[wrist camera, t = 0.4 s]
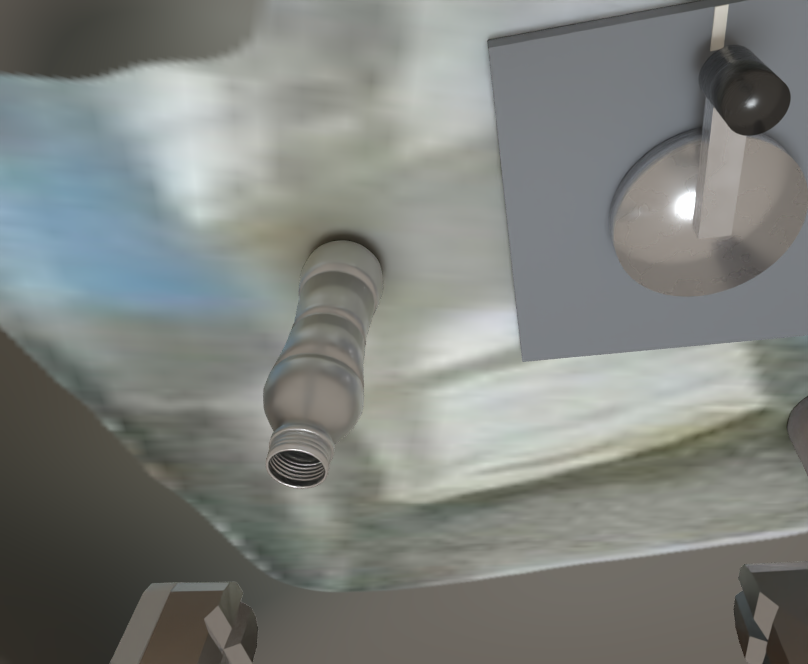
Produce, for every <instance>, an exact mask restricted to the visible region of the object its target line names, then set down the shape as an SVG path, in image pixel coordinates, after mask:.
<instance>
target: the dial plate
mask: <svg viewBox="0 0 808 664" xmlns="http://www.w3.org/2000/svg"><path fill="white" fill-rule="evenodd" d="M730 45H741V46H744V47H746V48H748V49H749V50H750V51H751V52H753V53H754V54H755V55H756V56H757V57H758V58H759V59H760V60H761V61H762V62H763V63H764V64H765V65H766V66H767V67H769V68H770V69H771V70H772V71H773V72H774V73H775V74H776V75H777V76H778V77H779V78H780V79H781V80H782V81H783V82H784V83H785V84H786V85H787V86H788V88H789V90H790V94H791V101H790V105H789V108H788V110H787V112H786V114H785V116H784V117H783V118H782V119H781V121H780V122H779V123H778V124H777V125H775V126H774V127H773V128H771V129H770V130H768V131H766V132H764V134H766V135H768V136H770V137H771V138H773V139H774V140H775V141H777V142H778V143H779V144H780V145H781V146H782V147H783V148H784V149H785V150H786V151H787V153H788V154H789V155H790V156H791V157H792V158H793V160H794V161H795V162H796V163H797V164H798V166H799V167H800V169H801V170H802V172H803V174H804V177H805V179H806V182H807V187H808V0H702V1H697V2H691V3H686V4H681V5H675V6H670V7H664V8H659V9H654V10H648V11H643V12H638V13H632V14H627V15H621V16H616V17H611V18H605V19H600V20H595V21H589V22H584V23H578V24H573V25H568V26H562V27H557V28H552V29H546V30H541V31H535V32H530V33H525V34H519V35H514V36H509V37H503V38H498V39H493V40H488V49H489V58H490V67H491V77H492V86H493V95H494V104H495V113H496V123H497V132H498V141H499V150H500V159H501V168H502V178H503V187H504V196H505V205H506V214H507V224H508V233H509V242H510V251H511V260H512V270H513V279H514V288H515V297H516V306H517V316H518V325H519V334H520V343H521V352H522V362H526V361H537V360H547V359H558V358H569V357H580V356H590V355H601V354H612V353H622V352H633V351H644V350H655V349H665V348H676V347H687V346H698V345H708V344H719V343H730V342H741V341H751V340H762V339H773V338H784V337H794V336H805V335H808V209H807V214H806V217H805V220H804V223H803V226H802V228H801V230H800V232H799V234H798V235H797V237H796V239H795V240H794V242H793V243H792V245H791V246H790V247H789V248H788V249H787V251H786V252H785V253H784V254H783V255H782V256H781V257H780V258H779V259H778V260H777V261H776V262H775V263H774V264H772V265H771V266H770V267H769V268H768V269H766V270H765V271H763V272H762V273H760V274H759V275H757V276H756V277H754V278H752V279H751V280H749V281H747V282H745V283H743V284H741V285H738V286H736V287H734V288H731V289H728V290H725V291H722V292H718V293H714V294H710V295H703V296H693V297H681V296H671V295H665V294H661V293H658V292H655V291H652V290H650V289H647V288H645V287H644V286H642V285H640V284H639V283H637V282H636V281H635V280H634V279H632V278H631V277H630V276H629V275H628V274H627V273H626V271H625V270H624V268H623V267H622V265H621V264H620V262H619V259H618V257H617V255H616V251H615V248H614V245H613V242H612V239H611V235H610V230H609V215H610V209H611V204H612V201H613V198H614V196H615V193H616V191H617V189H618V187H619V185H620V184H621V182H622V180H623V179H624V177H625V176H626V175H627V173H628V172H629V171H630V170H631V169H632V167H633V166H634V165H635V164H636V163H637V162H638V161H639V160H640V159H641V158H643V157H644V156H645V155H646V154H647V153H648V152H650V151H651V150H653V149H654V148H655V147H657V146H658V145H660V144H662V143H664V142H665V141H667V140H669V139H671V138H673V137H675V136H677V135H680V134H682V133H685V132H688V131H691V130H694V129H698V128H703V118H704V109H705V99H706V96H705V95H704V94H703V92H702V91H701V89H700V87H699V73H700V70H701V68H702V66H703V64H704V62H705V61H706V60H707V59H708V58H709V57H710V56H711V55H712V54H713V53H714V52H716V51H717V50H719V49H721V48H723V47H726V46H730Z"/></svg>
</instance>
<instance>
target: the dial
mask: <svg viewBox="0 0 808 664" xmlns="http://www.w3.org/2000/svg"><path fill="white" fill-rule="evenodd" d="M699 87H700V89H701V91H702V92H703V94H704V95H705V96H706V99H705V109H704V118H703V128H698V129H694V130H691V131H688V132H685V133H682V134H680V135H677V136H675V137H673V138H671V139H669V140H667V141H665V142H664V143H662V144H660V145H658V146H657V147H655V148H654V149H653V150H651V151H650V152H648V153H647V154H646V155H645V156H644V157H643V158H641V159H640V160H639V161H638V162H637V163H636V164H635V165H634V166H633V167H632V169H631V170H630V171H629V172H628V173H627V175H626V176H625V177H624V179H623V180H622V182H621V184H620V185H619V187H618V189H617V191H616V193H615V196H614V198H613V201H612V204H611V209H610V215H609V230H610V235H611V239H612V242H613V245H614V248H615V251H616V255H617V257H618V259H619V262H620V264H621V265H622V267H623V268H624V270H625V271H626V273H627V274H628V275H629V276H630V277H631V278H632V279H634V280H635V281H636V282H637V283H639V284H640V285H642V286H644V287H645V288H647V289H650V290H652V291H655V292H658V293H661V294H665V295H671V296H681V297H693V296H703V295H710V294H714V293H718V292H722V291H725V290H728V289H731V288H734V287H736V286H738V285H741V284H743V283H745V282H747V281H749V280H751V279H752V278H754V277H756V276H757V275H759V274H760V273H762V272H763V271H765V270H766V269H768V268H769V267H770V266H771V265H772V264H774V263H775V262H776V261H777V260H778V259H779V258H780V257H781V256H782V255H783V254H784V253H785V252H786V251H787V249H788V248H789V247H790V246H791V245H792V243H793V242H794V240H795V239H796V237H797V235H798V234H799V232H800V230H801V228H802V226H803V223H804V220H805V217H806V214H807V209H808V187H807V182H806V179H805V177H804V174H803V172H802V170H801V169H800V167H799V166H798V164H797V163H796V162H795V161H794V160H793V158H792V157H791V156H790V155H789V154H788V153H787V151H786V150H785V149H784V148H783V147H782V146H781V145H780V144H779V143H778V142H777V141H775V140H774V139H773V138H771V137H770V136H768V135H766V134H764V132H766V131H768V130H770V129H771V128H773V127H774V126H775V125H777V124H778V123H779V122H780V121H781V119H782V118H783V117H784V116H785V114H786V112H787V110H788V108H789V105H790V101H791V94H790V90H789V88H788V86H787V85H786V84H785V83H784V82H783V81H782V80H781V79H780V78H779V77H778V76H777V75H776V74H775V73H774V72H773V71H772V70H771V69H770V68H769V67H767V66H766V65H765V64H764V63H763V62H762V61H761V60H760V59H759V58H758V57H757V56H756V55H755V54H754V53H753V52H751V51H750V50H749V49H748V48H746V47H744V46H741V45H730V46H726V47H723V48H721V49H719V50H717V51H716V52H714V53H713V54H712V55H711V56H710V57H709V58H708V59H707V60H706V61H705V62H704V64H703V66H702V68H701V70H700V73H699Z"/></svg>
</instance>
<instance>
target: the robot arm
mask: <svg viewBox="0 0 808 664" xmlns="http://www.w3.org/2000/svg"><path fill="white" fill-rule="evenodd" d="M738 579H739V581H740V584H741V587H742V589H743V591H741V592H740V593H739V594H737V595H736V596H735V601H734V609H733V610H734V619H735V628H736V632H737V636H738V640H739V644H740V646H741V649H742V652H743V655H744V658H745V660H746V661H747V662H748V663H749V664H808V561H804V562H785V563H762V564H744V565H743V566H742V567H741V568H740V573H739V577H738ZM242 595H243V592H242V590H241V588H240V587H239V585H238V583H237V582H199V583H198V582H196V583H181V582H178V583H153V584H151V585H150V586H149V587H148V588H147V589H146V591H144V593H143V595H142V597H141V599H140V601H139V603H138V605H137V607H136V609H135V611H134V613H133V616H132V618H131V620H130V622H129V624H128V626H127V628H126V630H125V632H124V635H123V637H122V639H121V641H120V643H119V645H118V647H117V649H116V651H115V654H114V656H113V658H112V660H111V662H110V664H253V660H254V656H255V652H256V648H257V639H258V626H257V620H256V616H255V614H254V612H253V610H252V608H251V607H249V606H248V605H246V604H244V603H243V602H241V598H242Z"/></svg>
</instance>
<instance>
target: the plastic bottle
mask: <svg viewBox="0 0 808 664" xmlns="http://www.w3.org/2000/svg"><path fill="white" fill-rule="evenodd" d="M382 293H383V275H382V269H381V266H380V264H379V262H378V260H377V258H376V257H375V256H374V255H373V253H371V252H370V251H369V250H368V249H367V248H365V247H363V246H362V245H360V244H358V243H355V242H352V241H346V240H339V241H332V242H328V243H325V244H323V245H321V246H320V247H318V248H317V249H316V250H315V251H313V252H312V254H311V255H310V257H309V258H308V260H307V261H306V263H305V264H304V266H303V268H302V271H301V274H300V283H299V301H298V306H297V311H296V316H295V322H294V324H293V327H292V329H291V332H290V334H289V337H288V339H287V342H286V345H285V346H284V348H283V350H282V352H281V354H280V356H279V357H278V359H277V361H276V363H275V365H274V367H273V368H272V371H271V372H270V374H269V377H268V379H267V381H266V384H265V386H264V390H263V403H264V411H265V414H266V417H267V419H268V421H269V423H270V425H271V427H272V429H273V431H274V432H273V434H272V436H271V439H270V442H269V452H268V455H267V458H266V469H267V472H268V473H269V475H270V476H271V477H272V478H273V479H274V480H276V481H277V482H279V483H281V484H283V485H285V486H289V487H292V488H301V489H304V488H312V487H315V486H318V485H319V484H321V483H322V482H323V481H324V480H325V479H326V477H327V475H328V471H329V466H330V462H331V460H332V459H333V454H334V449H335V447H334V445H335V444H336V443H338V442H339V441H340V440H342V439H343V438H344V437H345V436H346V435H348V434H349V433H350V432H351V431H352V429H353V428H354V426H355V425H356V423H357V421H358V419H359V418H360V416H361V414H362V410H363V403H364V368H363V364H364V355H365V345H366V337H367V334H368V331H369V327H370V324H371V321H372V317H373V315H374V313H375V311H376V309H377V307H378V305H379V302H380V299H381V297H382Z"/></svg>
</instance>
